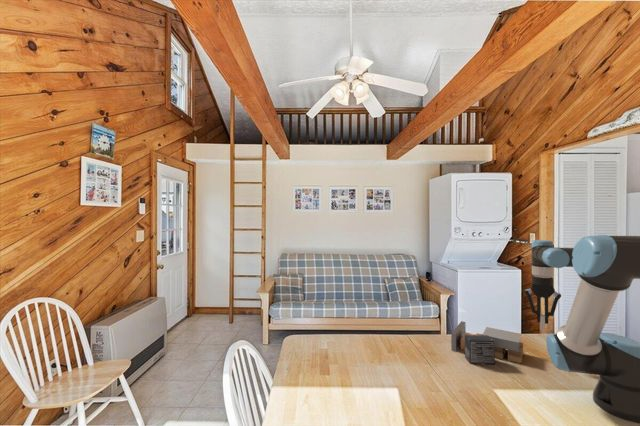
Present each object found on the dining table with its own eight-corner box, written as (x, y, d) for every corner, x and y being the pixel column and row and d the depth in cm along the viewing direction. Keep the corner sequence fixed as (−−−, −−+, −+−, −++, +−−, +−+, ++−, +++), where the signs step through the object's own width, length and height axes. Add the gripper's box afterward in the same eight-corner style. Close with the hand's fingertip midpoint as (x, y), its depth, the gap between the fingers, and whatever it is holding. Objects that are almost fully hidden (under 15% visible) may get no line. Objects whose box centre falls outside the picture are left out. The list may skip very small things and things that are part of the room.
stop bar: (455, 351, 143) (455, 334, 143) (451, 350, 145) (451, 333, 145) (465, 337, 159) (465, 322, 159) (461, 336, 160) (461, 321, 160)
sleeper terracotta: (469, 351, 144) (469, 341, 144) (460, 349, 146) (460, 339, 146) (474, 343, 152) (474, 334, 152) (466, 341, 155) (466, 332, 155)
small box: (488, 358, 137) (488, 334, 137) (495, 365, 130) (495, 340, 130) (464, 357, 138) (464, 333, 138) (469, 364, 131) (469, 339, 131)
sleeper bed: (521, 363, 131) (521, 351, 131) (472, 351, 143) (472, 340, 143) (523, 353, 140) (523, 343, 140) (477, 343, 152) (477, 333, 152)
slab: (518, 351, 132) (518, 342, 132) (482, 343, 140) (482, 334, 140) (520, 342, 141) (520, 333, 141) (486, 335, 150) (486, 326, 150)
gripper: (561, 276, 130) (562, 331, 130) (524, 272, 138) (525, 324, 138) (562, 279, 124) (562, 337, 124) (523, 275, 132) (523, 329, 132)
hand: (542, 330), depth 131 cm, fingers closed
